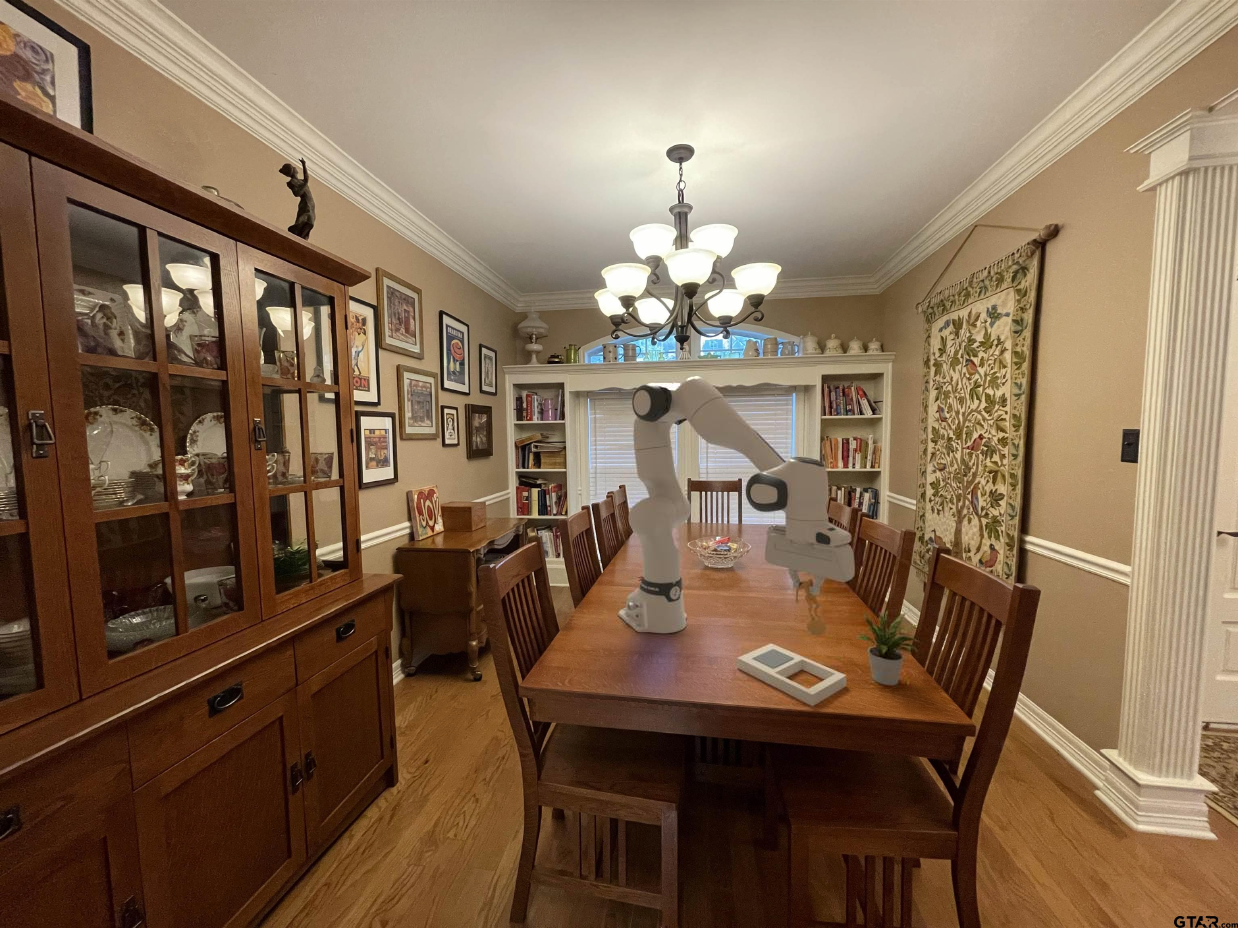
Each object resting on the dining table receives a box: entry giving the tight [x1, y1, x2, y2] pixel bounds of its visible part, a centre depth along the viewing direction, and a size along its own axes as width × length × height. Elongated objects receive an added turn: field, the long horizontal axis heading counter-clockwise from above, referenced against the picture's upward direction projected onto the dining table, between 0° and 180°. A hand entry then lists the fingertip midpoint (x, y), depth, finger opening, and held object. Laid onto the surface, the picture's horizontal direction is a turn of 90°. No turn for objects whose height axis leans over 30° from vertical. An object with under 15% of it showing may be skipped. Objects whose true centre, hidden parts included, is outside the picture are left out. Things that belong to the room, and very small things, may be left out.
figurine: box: [795, 578, 828, 637], centre depth 103 cm, size 8×6×12 cm
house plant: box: [846, 609, 922, 686], centre depth 106 cm, size 14×14×16 cm
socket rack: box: [736, 643, 847, 707], centre depth 109 cm, size 20×13×3 cm, turn 35°
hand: (806, 591), depth 105 cm, fingers closed on figurine, 3 cm apart
